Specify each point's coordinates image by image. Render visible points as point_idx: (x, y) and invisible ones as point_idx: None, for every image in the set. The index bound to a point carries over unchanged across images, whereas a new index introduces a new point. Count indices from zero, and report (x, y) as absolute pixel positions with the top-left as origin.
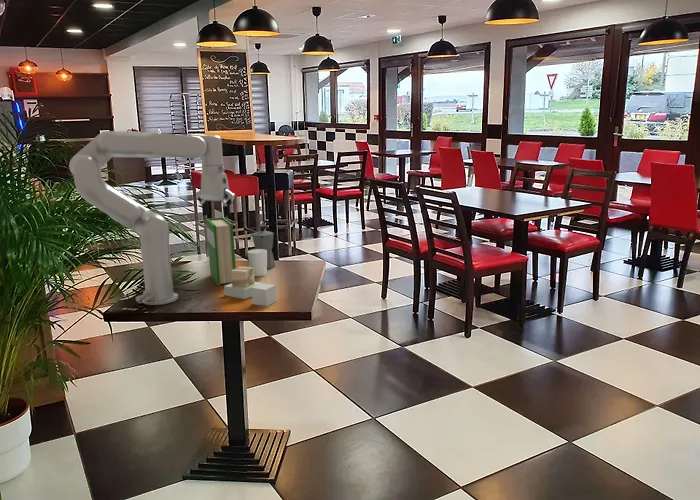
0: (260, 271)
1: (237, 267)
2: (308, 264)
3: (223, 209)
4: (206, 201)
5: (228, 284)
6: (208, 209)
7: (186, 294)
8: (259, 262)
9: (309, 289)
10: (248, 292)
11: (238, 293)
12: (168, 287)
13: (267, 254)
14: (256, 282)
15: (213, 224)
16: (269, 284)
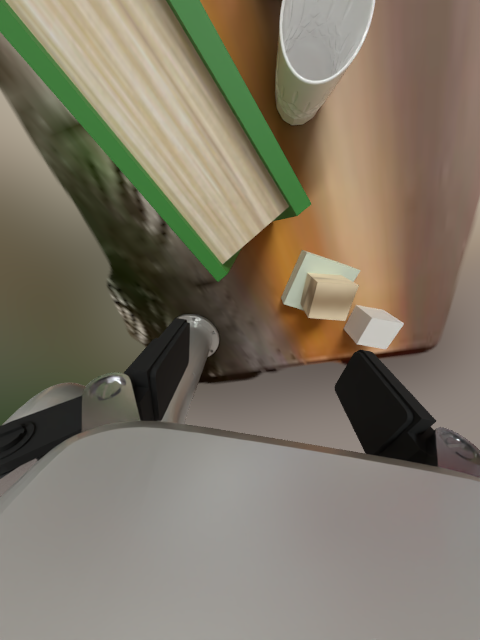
0: (317, 110)
1: (315, 292)
2: None
3: (360, 436)
4: (118, 415)
5: (288, 294)
6: (175, 350)
7: (213, 305)
8: (327, 96)
9: (459, 224)
10: None
11: None
12: (208, 353)
13: None
14: (344, 270)
15: (197, 246)
16: (390, 321)
